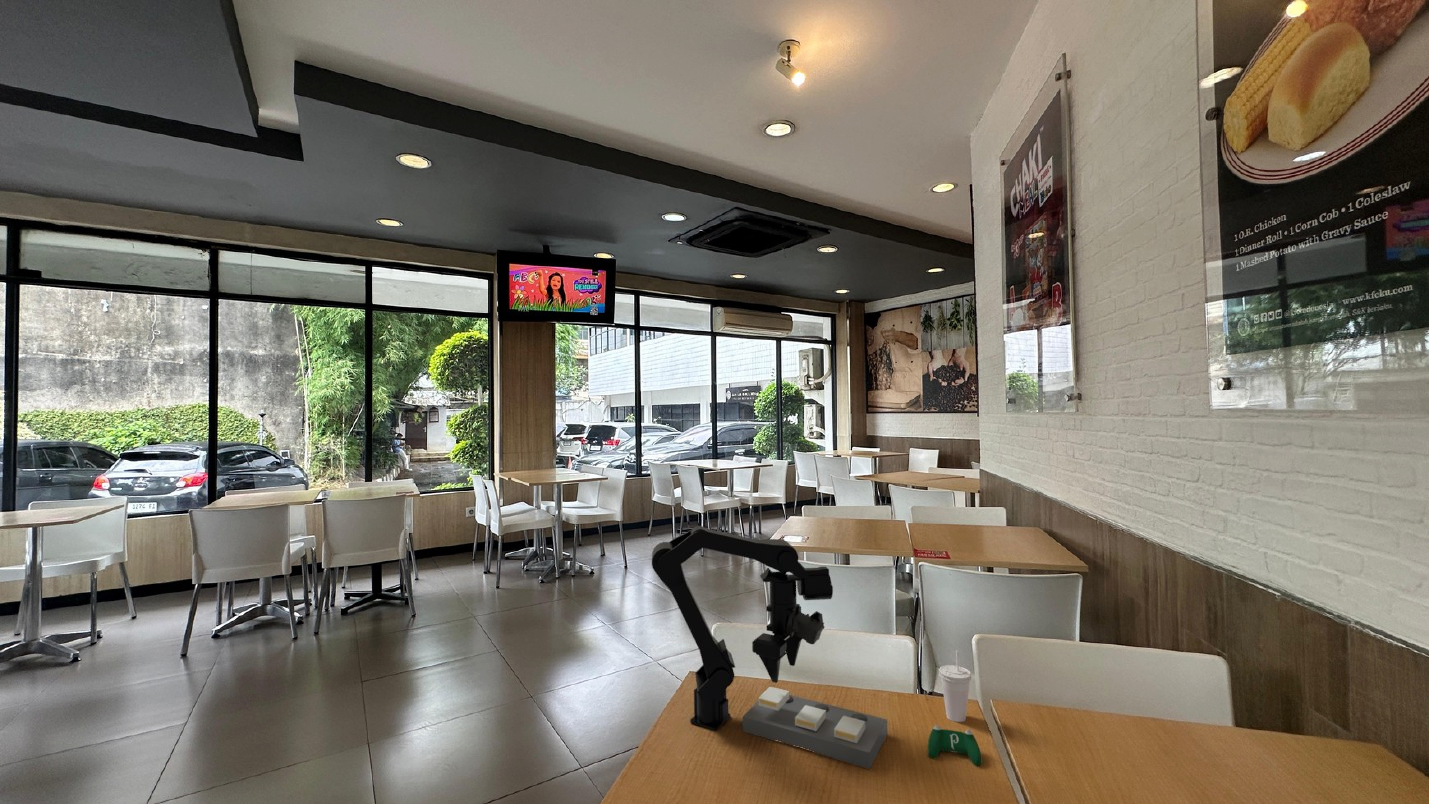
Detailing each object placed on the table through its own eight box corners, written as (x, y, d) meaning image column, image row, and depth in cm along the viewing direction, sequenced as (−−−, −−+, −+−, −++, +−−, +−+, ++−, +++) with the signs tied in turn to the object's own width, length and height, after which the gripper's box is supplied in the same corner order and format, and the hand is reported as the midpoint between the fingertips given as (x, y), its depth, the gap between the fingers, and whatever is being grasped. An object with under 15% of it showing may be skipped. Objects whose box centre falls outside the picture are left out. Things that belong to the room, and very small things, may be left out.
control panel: (742, 731, 119) (742, 715, 119) (769, 703, 130) (769, 688, 130) (869, 769, 106) (869, 751, 106) (887, 734, 117) (887, 718, 117)
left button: (758, 705, 119) (758, 698, 119) (770, 693, 124) (769, 686, 124) (777, 710, 116) (777, 703, 117) (789, 698, 121) (789, 691, 121)
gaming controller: (981, 771, 108) (978, 736, 112) (982, 764, 105) (979, 728, 109) (928, 762, 111) (927, 728, 115) (928, 755, 108) (927, 721, 112)
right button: (833, 737, 111) (833, 729, 111) (843, 723, 116) (843, 715, 116) (856, 743, 108) (856, 735, 108) (865, 728, 113) (865, 721, 113)
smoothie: (975, 726, 119) (974, 658, 119) (942, 723, 120) (941, 656, 121) (968, 710, 125) (967, 645, 126) (937, 708, 127) (936, 643, 127)
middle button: (794, 725, 115) (794, 717, 115) (805, 712, 120) (805, 705, 120) (816, 731, 112) (815, 723, 112) (826, 717, 117) (825, 710, 117)
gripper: (801, 620, 113) (802, 701, 113) (833, 594, 129) (834, 665, 129) (750, 611, 119) (751, 688, 118) (787, 587, 135) (787, 654, 135)
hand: (783, 673), depth 125 cm, fingers open, 9 cm apart
